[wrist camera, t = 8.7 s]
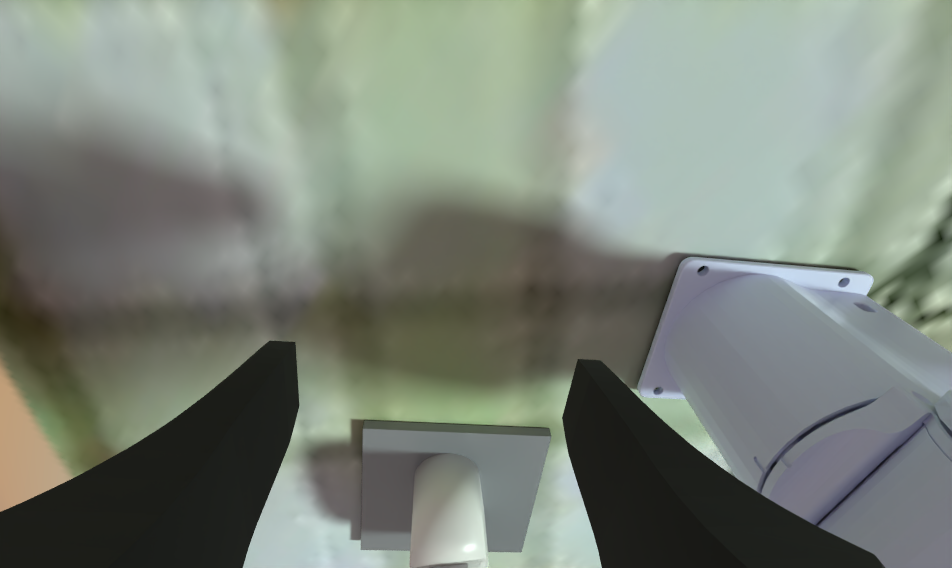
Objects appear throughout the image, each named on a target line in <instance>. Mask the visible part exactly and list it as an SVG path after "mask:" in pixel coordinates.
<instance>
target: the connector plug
mask: <svg viewBox="0 0 952 568" xmlns="http://www.w3.org/2000/svg"><path fill="white" fill-rule="evenodd" d="M410 568H489V560H488V549H487V537H486V526H485V515H484V506H483V499H482V491H481V484H480V477H479V471H478V468H477V466H476V465H475V464H474V462H472V461H471V460H470V459H468V458H467V457H464V456H462V455H458V454H452V453H445V454H438V455H434V456H432V457H429V458H427V459H426V460H424V461H423V462H422V463H421V464H420V465H419V466H418V467H417V469H416V471H415V477H414V495H413V513H412V531H411V549H410Z"/></svg>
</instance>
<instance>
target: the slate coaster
mask: <svg viewBox="0 0 952 568" xmlns="http://www.w3.org/2000/svg"><path fill="white" fill-rule="evenodd" d="M550 440H551V433H550V429H549V428H527V427H504V426H482V425H459V424H436V423H413V422H390V421H367V420H364V425H363V449H362V507H361V550H404V551H410V549H411V531H412V513H413V495H414V477H415V471H416V469H417V467H418V466H419V465H420V464H421V463H422V462H423V461H424V460H426V459H427V458H429V457H432V456H434V455H438V454H445V453H452V454H458V455H462V456H464V457H467V458H468V459H470V460H471V461H472V462H474V464H475V465H476V466H477V468H478V471H479V477H480V484H481V491H482V499H483V506H484V515H485V526H486V537H487V549H488V552H522V548H523V544H524V540H525V536H526V533H527V529H528V525H529V521H530V517H531V513H532V509H533V506H534V502H535V498H536V494H537V490H538V486H539V482H540V479H541V475H542V471H543V467H544V463H545V459H546V455H547V452H548V448H549V444H550Z"/></svg>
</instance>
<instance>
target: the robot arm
mask: <svg viewBox="0 0 952 568" xmlns="http://www.w3.org/2000/svg"><path fill="white" fill-rule="evenodd" d="M702 266H705V268H704V269H703V270H702V271H701V272H698V269H699V268H700V267H702ZM841 279H843V280H842V281H841V282H840V283H839V281H840V280H841ZM872 284H873V277H872V276H871V275H870V274H868V273H867V272H864V271H853V270H841V269H830V268H818V267H807V266H795V265H783V264H772V263H760V262H748V261H737V260H725V259H713V258H702V257H688V258H686V259H684V260H683V261H682V262H681V263H680V265H679V267H678V270H677V273H676V276H675V279H674V282H673V285H672V288H671V291H670V293H669V296H668V299H667V302H666V305H665V308H664V311H663V314H662V316H661V319H660V322H659V325H658V328H657V331H656V334H655V337H654V340H653V342H652V345H651V348H650V351H649V354H648V357H647V360H646V363H645V366H644V368H643V371H642V374H641V377H640V380H639V383H638V386H637V389H638V391H639V393H640V395H641V396H643V397H650V398H669V399H686V400H687V401H688V403H689V404H690V406H691V407H692V409H693V411H694V412H695V414H696V415H697V417H698V418H699V420H700V422H701V423H702V425H703V426H704V428H705V429H706V431H707V433H708V434H709V436H710V437H711V439H712V441H713V442H714V444H715V445H716V447H717V448H718V450H719V452H720V453H721V455H722V456H723V458H724V459H725V461H726V463H727V464H728V466H729V467H730V469H731V470H732V472H733V474H734V475H735V477H736V478H735V477H734V476H732V475H731V474H730V473H728V472H727V471H725V470H724V469H722V468H721V467H720V466H718V465H717V464H716V463H714V462H713V461H712V460H710V459H709V458H708V457H706V456H705V455H704V454H702V453H701V452H700V451H698V450H697V449H696V448H694V447H693V446H692V445H691V444H689V443H688V442H687V441H686V440H685V439H683V438H682V437H681V436H680V435H679V434H678V433H676V432H675V431H674V430H673V429H672V428H671V427H669V426H668V425H667V424H666V423H665V422H664V421H663V420H662V419H661V418H659V417H658V416H657V415H656V414H655V413H654V412H653V411H652V410H651V409H650V408H649V407H648V406H647V405H646V404H644V403H643V402H642V401H641V400H640V399H639V398H638V397H637V396H636V395H635V394H634V393H633V392H632V391H631V390H630V389H629V388H628V387H627V386H626V385H625V384H624V383H623V382H622V381H621V380H620V379H619V378H618V377H617V376H616V375H615V374H614V373H613V372H612V371H611V370H610V369H609V368H608V367H607V366H606V365H605V364H604V363H603V362H601V361H600V360H583V359H578V361H577V365H576V368H575V372H574V376H573V380H572V383H571V387H570V391H569V395H568V398H567V402H566V406H565V410H564V413H563V417H562V419H563V425H564V431H565V438H566V443H567V448H568V453H569V457H570V460H571V463H572V467H573V470H574V473H575V476H576V480H577V483H578V486H579V489H580V492H581V495H582V498H583V501H584V505H585V508H586V511H587V514H588V517H589V520H590V523H591V527H592V530H593V533H594V536H595V540H596V544H597V547H598V551H599V556H600V561H601V565H602V568H952V353H951V352H950V351H948V350H947V349H945V348H944V347H942V346H941V345H939V344H938V343H936V342H935V341H933V340H932V339H930V338H929V337H927V336H926V335H924V334H923V333H921V332H920V331H918V330H917V329H915V328H914V327H912V326H911V325H909V324H908V323H906V322H905V321H903V320H902V319H900V318H899V317H897V316H896V315H894V314H893V313H891V312H890V311H888V310H887V309H885V308H884V307H882V306H881V305H879V304H878V303H876V302H875V301H873V300H872V299H870V298H869V297H867V296H866V295H867V293H868V291H869V290H870V288H871V286H872ZM657 387H659V388H658V389H657V390H654V389H655V388H657ZM298 409H299V394H298V377H297V361H296V345H295V342H283V341H269V342H268V343H266V344H265V345H264V346H263V347H262V348H260V349H259V350H258V351H257V352H256V353H255V354H254V355H252V356H251V357H250V358H249V359H248V360H247V361H246V362H244V363H243V364H242V365H241V366H240V367H239V368H238V369H236V370H235V371H234V372H233V373H232V374H231V375H229V376H228V377H227V378H226V379H225V380H223V381H222V382H221V383H220V384H219V385H217V386H216V387H215V388H214V389H212V390H211V391H210V392H209V393H208V394H206V395H205V396H204V397H203V398H201V399H200V400H199V401H197V402H196V403H195V404H193V405H192V406H191V407H189V408H188V409H187V410H185V411H184V412H183V413H181V414H180V415H179V416H177V417H176V418H174V419H173V420H172V421H170V422H169V423H167V424H166V425H164V426H163V427H161V428H160V429H158V430H157V431H155V432H154V433H152V434H150V435H149V436H147V437H146V438H144V439H142V440H141V441H139V442H138V443H136V444H134V445H133V446H131V447H129V448H128V449H126V450H124V451H122V452H121V453H119V454H117V455H115V456H113V457H112V458H110V459H108V460H106V461H104V462H103V463H101V464H99V465H97V466H95V467H93V468H92V469H90V470H88V471H86V472H84V473H83V474H81V475H79V476H77V477H75V478H73V479H71V480H69V481H67V482H65V483H63V484H61V485H59V486H57V487H55V488H52V489H50V490H49V491H46V492H44V493H42V494H40V495H37V496H35V497H34V498H31V499H29V500H27V501H25V502H22V503H20V504H18V505H16V506H13V507H11V508H9V509H6V510H4V511H2V512H0V568H243V565H244V561H245V558H246V554H247V551H248V548H249V544H250V542H251V539H252V536H253V533H254V530H255V528H256V525H257V522H258V520H259V518H260V515H261V513H262V510H263V508H264V505H265V503H266V500H267V498H268V495H269V493H270V490H271V488H272V486H273V483H274V481H275V478H276V476H277V473H278V471H279V468H280V466H281V463H282V461H283V458H284V456H285V453H286V451H287V448H288V445H289V443H290V439H291V436H292V432H293V428H294V425H295V421H296V417H297V413H298Z"/></svg>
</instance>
